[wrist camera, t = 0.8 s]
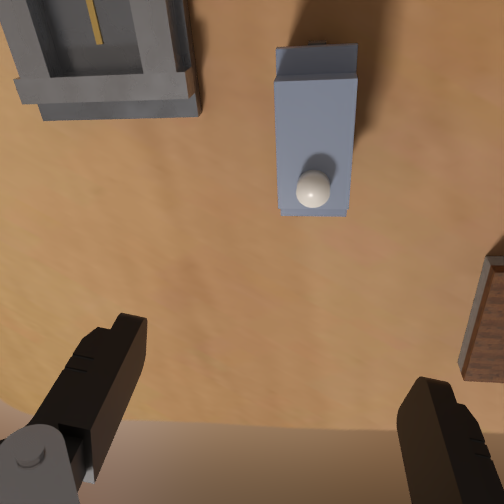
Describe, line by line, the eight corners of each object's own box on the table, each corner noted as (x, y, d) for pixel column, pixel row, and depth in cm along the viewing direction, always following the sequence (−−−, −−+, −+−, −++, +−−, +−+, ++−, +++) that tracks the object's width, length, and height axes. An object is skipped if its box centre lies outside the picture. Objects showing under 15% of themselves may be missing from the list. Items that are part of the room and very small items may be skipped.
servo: (283, 36, 25) (270, 57, 19) (352, 32, 24) (361, 53, 18) (286, 184, 30) (277, 235, 24) (343, 184, 29) (348, 237, 24)
